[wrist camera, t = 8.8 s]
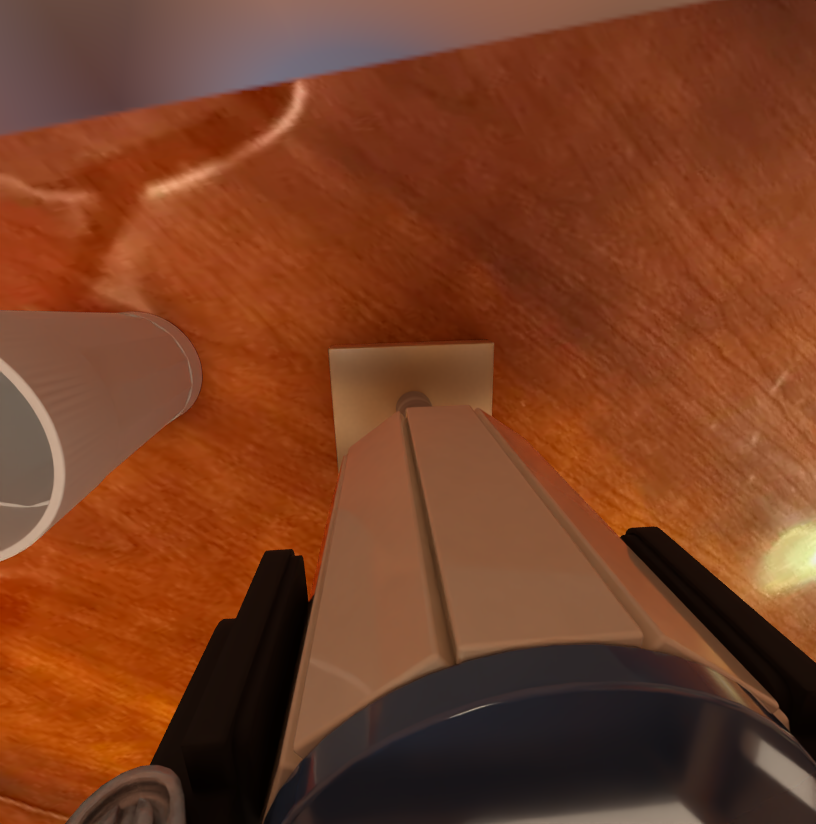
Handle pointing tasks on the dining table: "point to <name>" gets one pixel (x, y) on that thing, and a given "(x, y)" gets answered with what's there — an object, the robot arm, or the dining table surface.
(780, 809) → the blue topped tan cylinder
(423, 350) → the double peg stand
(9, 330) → the cup
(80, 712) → the dining table surface
